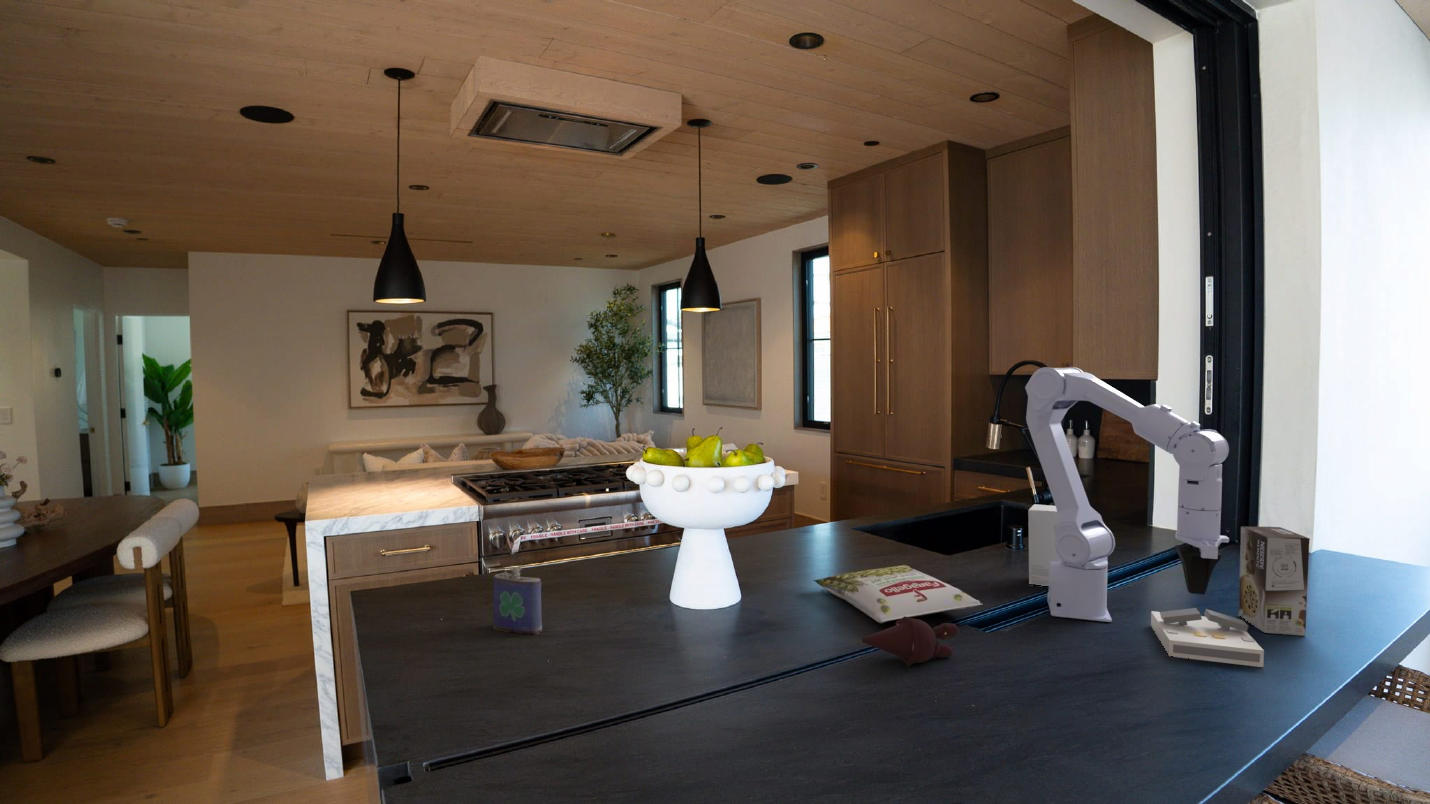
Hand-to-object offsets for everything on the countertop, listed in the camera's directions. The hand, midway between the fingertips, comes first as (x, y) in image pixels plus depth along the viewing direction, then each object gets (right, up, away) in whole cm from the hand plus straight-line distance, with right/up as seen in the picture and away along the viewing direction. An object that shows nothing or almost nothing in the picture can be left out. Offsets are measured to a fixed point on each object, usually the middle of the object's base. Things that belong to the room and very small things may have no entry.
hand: (1196, 592), depth 119 cm
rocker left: (-1, -5, +1) cm, 6 cm away
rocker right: (+4, -5, -1) cm, 7 cm away
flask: (-109, -8, +7) cm, 110 cm away
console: (+1, -8, 0) cm, 8 cm away
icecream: (-47, -9, -7) cm, 48 cm away
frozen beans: (-43, -8, +19) cm, 48 cm away
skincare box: (-9, -7, +32) cm, 34 cm away
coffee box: (+18, -8, +8) cm, 21 cm away
